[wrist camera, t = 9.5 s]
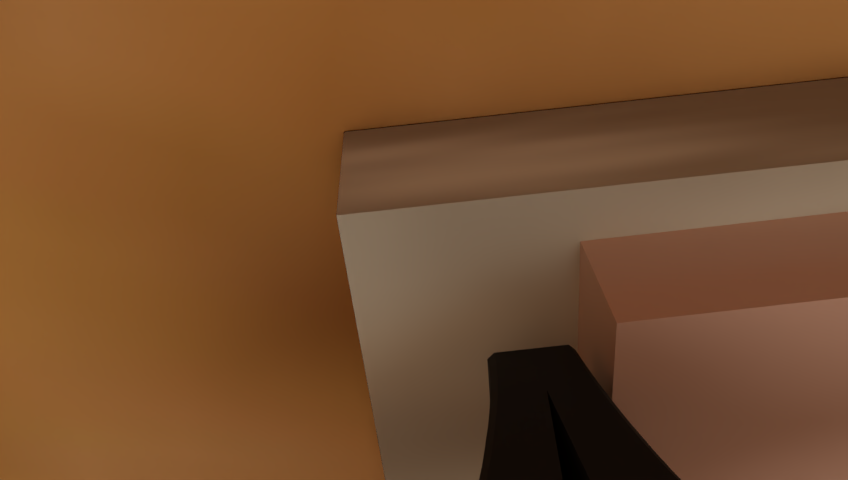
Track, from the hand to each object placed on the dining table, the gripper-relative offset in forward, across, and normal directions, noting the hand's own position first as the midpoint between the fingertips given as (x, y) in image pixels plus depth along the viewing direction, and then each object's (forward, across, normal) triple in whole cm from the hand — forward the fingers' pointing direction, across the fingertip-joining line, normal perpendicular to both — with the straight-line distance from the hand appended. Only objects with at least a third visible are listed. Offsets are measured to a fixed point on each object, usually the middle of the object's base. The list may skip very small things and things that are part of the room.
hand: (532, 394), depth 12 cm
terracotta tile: (+1, -3, 0) cm, 3 cm away
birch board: (+4, -2, +3) cm, 5 cm away
